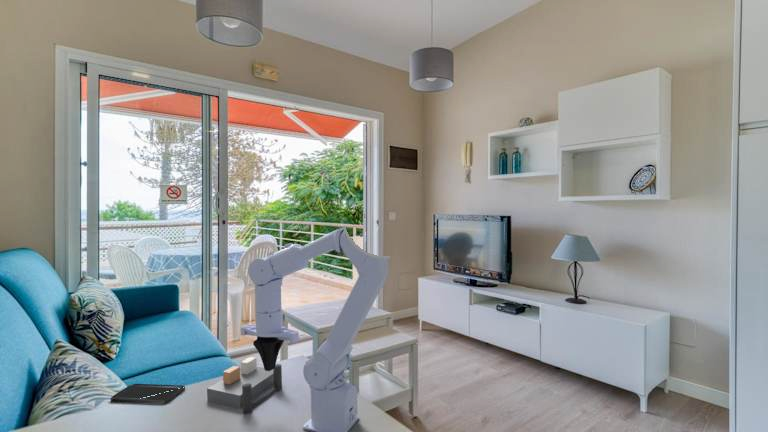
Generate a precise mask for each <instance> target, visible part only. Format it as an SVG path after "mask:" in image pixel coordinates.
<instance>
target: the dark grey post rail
mask: <svg viewBox="0 0 768 432" xmlns="http://www.w3.org/2000/svg"><path fill="white" fill-rule="evenodd" d="M282 374H283V372H282V364H279V363H276V365H275V368H274V369H273V377H274V385H273V388H272V389H270V390H269V391H267V392H266V393H264V394H263V395H262V396H260V397H258V399H256V400H255V401H253V400H252V385H251V384H250V383H247V384H244V385H242V399H243V407H242V414H244V415H248V414H251V413H253V408H255V407H257V406H258V405H260V404H261V403H262V402H263V401H265V400H267V398H269V397H271V395H273V394H274V393H276V392H279V391H282V390H283V379H282V378H283V375H282Z"/></svg>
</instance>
